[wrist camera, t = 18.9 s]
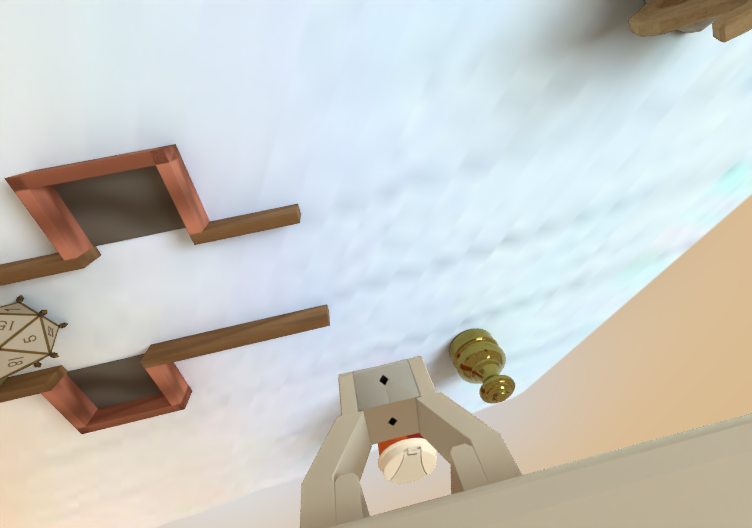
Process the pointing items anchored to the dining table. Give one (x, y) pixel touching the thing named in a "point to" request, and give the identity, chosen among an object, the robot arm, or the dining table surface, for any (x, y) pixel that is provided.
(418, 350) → the dining table surface
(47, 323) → the game die
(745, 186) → the dining table surface
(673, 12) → the tankard
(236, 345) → the trap channel
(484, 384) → the gold metal turned piece
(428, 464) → the paper cup
